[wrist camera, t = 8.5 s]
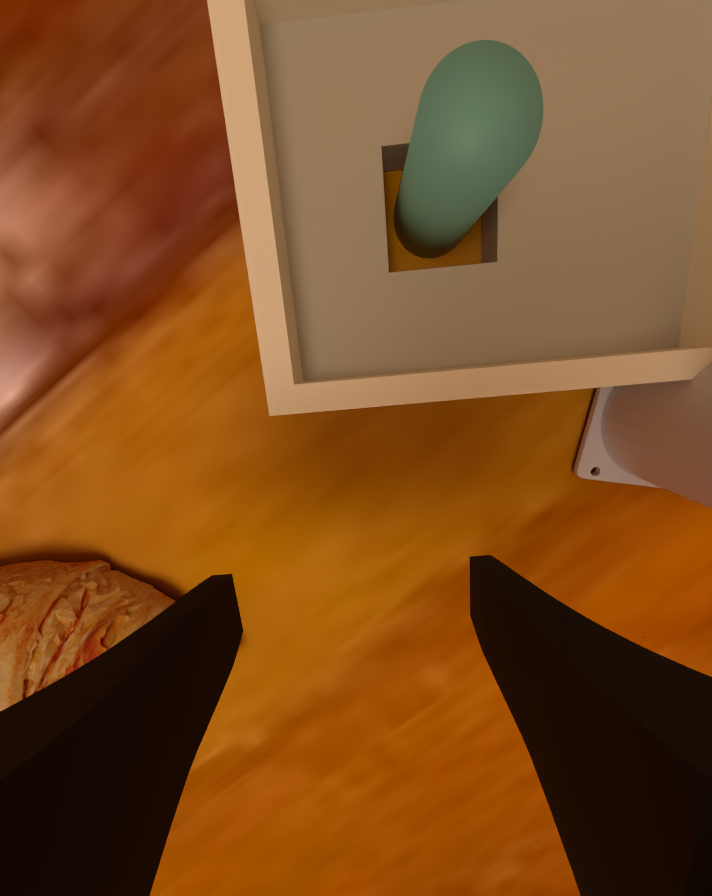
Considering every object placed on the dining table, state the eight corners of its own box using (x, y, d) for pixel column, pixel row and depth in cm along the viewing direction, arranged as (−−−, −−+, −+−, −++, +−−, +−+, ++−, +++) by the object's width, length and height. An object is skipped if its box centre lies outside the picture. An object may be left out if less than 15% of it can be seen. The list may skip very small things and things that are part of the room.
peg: (472, 249, 17) (547, 175, 10) (400, 265, 17) (427, 203, 10) (463, 165, 16) (538, 24, 9) (387, 183, 16) (407, 58, 10)
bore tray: (713, -21, 14) (866, -186, 10) (664, 370, 18) (760, 373, 14) (240, 36, 15) (192, -97, 11) (290, 403, 19) (269, 415, 15)
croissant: (259, 569, 26) (229, 586, 18) (230, 727, 23) (181, 826, 15) (-42, 533, 25) (-212, 533, 17) (-105, 694, 22) (-339, 782, 14)
